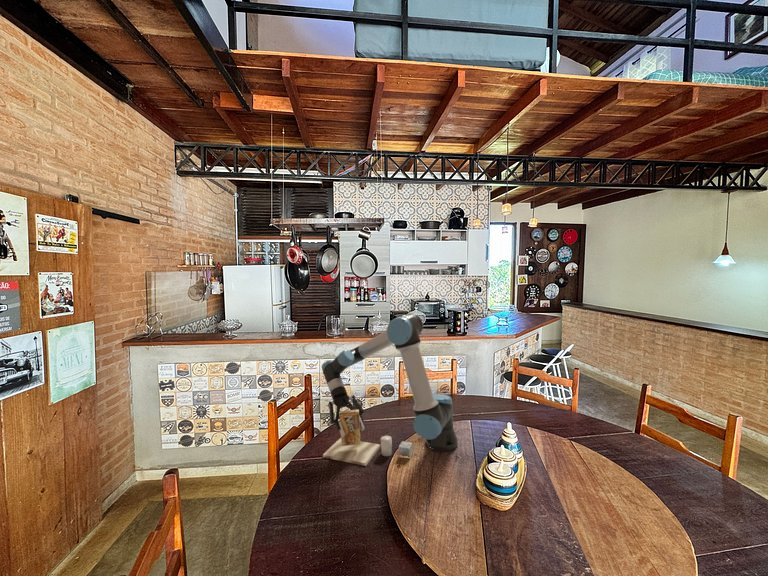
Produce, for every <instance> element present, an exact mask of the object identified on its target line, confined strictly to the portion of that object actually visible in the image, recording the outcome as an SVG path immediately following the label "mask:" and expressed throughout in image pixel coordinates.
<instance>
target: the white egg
mask: <svg viewBox="0 0 768 576" xmlns="http://www.w3.org/2000/svg"><path fill="white" fill-rule="evenodd" d="M392 441H393V440H392V436H390V435H384V436H381V437H380V449H381V450H380V451H381V453H380V454H381V455H382V456H384V457H391V456H392V455H393V442H392Z"/></svg>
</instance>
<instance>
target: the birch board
mask: <svg viewBox="0 0 768 576" xmlns="http://www.w3.org/2000/svg"><path fill="white" fill-rule="evenodd" d="M379 449H381V443H380V444H379V443H374V442H368V441H361V440H360V445H348V446H342V443H341V437H340V438H339V439H337V440H336V442H334V443H333V444H332V445H331V446H330V447H329V448H328V449H327V450H326V451H325V452H324V453H323V454H322V458H324V457H326V458H325V459H329V458H330V460H335V461H339V462H345V463H349V464H355V465H360V466H365V467H366V466H367V465H368V464H369V463H370V461H372V458H374V456H375V455H376V454H377V452H378V451H379Z"/></svg>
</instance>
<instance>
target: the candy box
mask: <svg viewBox="0 0 768 576" xmlns="http://www.w3.org/2000/svg"><path fill="white" fill-rule="evenodd" d="M339 421H340V422H341V425H342V428H343V430H344V433H345V436H344V437H343V438H342V436H341V435H340V438H341V443H342V446H348V445H360V441H361V428H360V422H359V410H350V409H348V410H347V409H346V410H340V413H339Z"/></svg>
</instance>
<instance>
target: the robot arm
mask: <svg viewBox="0 0 768 576" xmlns="http://www.w3.org/2000/svg"><path fill="white" fill-rule="evenodd" d="M423 329H424V322H423V320H422V318H421V316H419V315H417V314H415V313H406V314H402V315H401V316H397V317H395V318H394V319H392V320H391V321H390V322H389V323H388V325H387V328H386V330H385V331H383V332H381V333H380V334H378V335H376V336H374V337H373V338H372V337H371V338H370V339H369V340H367V341H365V342H362V344H360V345H358V346H356V347H354V348H352V349H350V350H348V349H343V350H342V351H341V352H339V354H338V355H337V356H336V357H335V358H334V359H329V360H326V361H325V362H323V363H322V364H321V370H322V374H323V376H324V379H325V381H326V385H327V388H328V390H329V393H330V395H331V396H330V397H331V398H332V399H331V400H332V401H329V402H328V404H327V407H328V409H329V420H330V424H331V425H335V427H336V430H337V431H339V433H340V437H341V436H342V438H343V437H344V436H345V433H344V430H343V428H342V425H341V422H340V411H341V409H343V408H347V409H348V410H359V422H360V432H363V431H364V430H365V425H364V419H363V416H362V415H363V414H364V412H365V411H364V408H362V406H361V404H360V403H359V401H357V399H356V397H355V395H354V394H353V395H352V396H351V395H350V396H349V394H348V392H347V390H346V388H345V384H344V382H343V379H342V377H341V374H342V373H343V372H344V371H345V370H347V369H348V368H349V367H351V366H353V365H356V364H357V363H359V362H362V361H364V360H365V359H367V358H369V357H371V356H373V355H375V354H377V353H379V352H380V351H383V350H384V349H386V348H388V347H390V346H392V345H394V347H395V350H397V351H399V352H400V356H401V358H402V363H403V366H404V369H405V373H406V376H407V379H408V383H409V387H410V389H411V390H410V391H411V394H412V397H413V401H414V406H413V407H412V408H413V414H414V420H413V423H412V424H413V425H412V426H413V429H414V431H415V433H416V434H417V435H418V436H419V437H421V438H422V439H424V440H425V444H426V443H427V445H428V446H429V447H431V448H433V449H435V450H434V451H436V450H438V451H437V452H448V451H452V450H454V449H456V448H457V447H458V445H459V443H458V436H457V434H456V432H455V427H454V417H453V416H454V415H453V413H454V412H453V410H454V409H453V398H452V397H451V396H449V395H446V394H443V393H442V394H441V393H434V394H433V391H432V389H431V385H430V381H429V378H428V375H427V371H426V367H425V364H424V360H423V358H422V354H421V350H420V348H419V346H420V344H421V338H420V334H422V332H423ZM351 402H352V403H351ZM334 406H335V407H336V411H334ZM334 412H335V414H334ZM427 445H426V446H427ZM428 446H427V447H428ZM429 447H428V448H429ZM431 448H430V449H431ZM433 449H432V450H433Z"/></svg>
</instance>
